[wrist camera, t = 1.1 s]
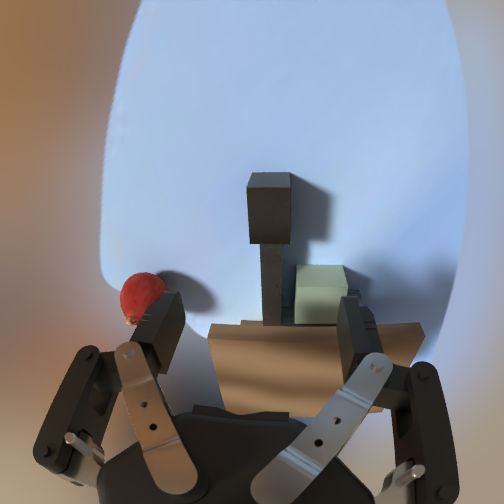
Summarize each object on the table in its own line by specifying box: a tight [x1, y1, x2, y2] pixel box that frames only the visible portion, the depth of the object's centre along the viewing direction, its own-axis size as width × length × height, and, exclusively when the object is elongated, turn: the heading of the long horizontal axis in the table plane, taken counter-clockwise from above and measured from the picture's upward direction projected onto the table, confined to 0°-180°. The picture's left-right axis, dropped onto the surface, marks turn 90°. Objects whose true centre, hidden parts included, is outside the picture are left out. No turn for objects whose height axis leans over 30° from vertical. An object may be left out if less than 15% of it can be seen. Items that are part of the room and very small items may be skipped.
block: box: [294, 264, 348, 324], centre depth 30 cm, size 5×5×4 cm
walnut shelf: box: [207, 320, 425, 417], centre depth 27 cm, size 12×16×12 cm
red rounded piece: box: [120, 272, 169, 325], centre depth 30 cm, size 6×6×8 cm
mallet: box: [247, 172, 363, 327], centre depth 28 cm, size 18×12×4 cm
